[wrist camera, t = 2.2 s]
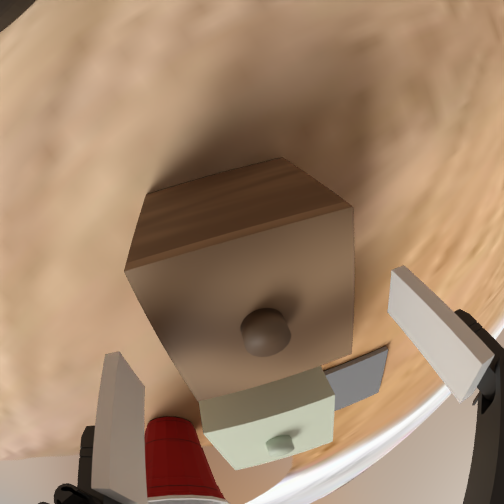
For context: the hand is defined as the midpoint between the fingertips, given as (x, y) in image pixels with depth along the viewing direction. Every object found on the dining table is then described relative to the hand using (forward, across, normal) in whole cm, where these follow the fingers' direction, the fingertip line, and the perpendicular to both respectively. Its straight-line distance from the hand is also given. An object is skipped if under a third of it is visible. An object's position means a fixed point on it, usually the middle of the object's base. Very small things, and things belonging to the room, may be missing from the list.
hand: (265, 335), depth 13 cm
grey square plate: (+10, +9, -23) cm, 27 cm away
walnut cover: (+9, 0, +1) cm, 9 cm away
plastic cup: (+10, -13, -21) cm, 27 cm away
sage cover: (+9, -1, -12) cm, 16 cm away
